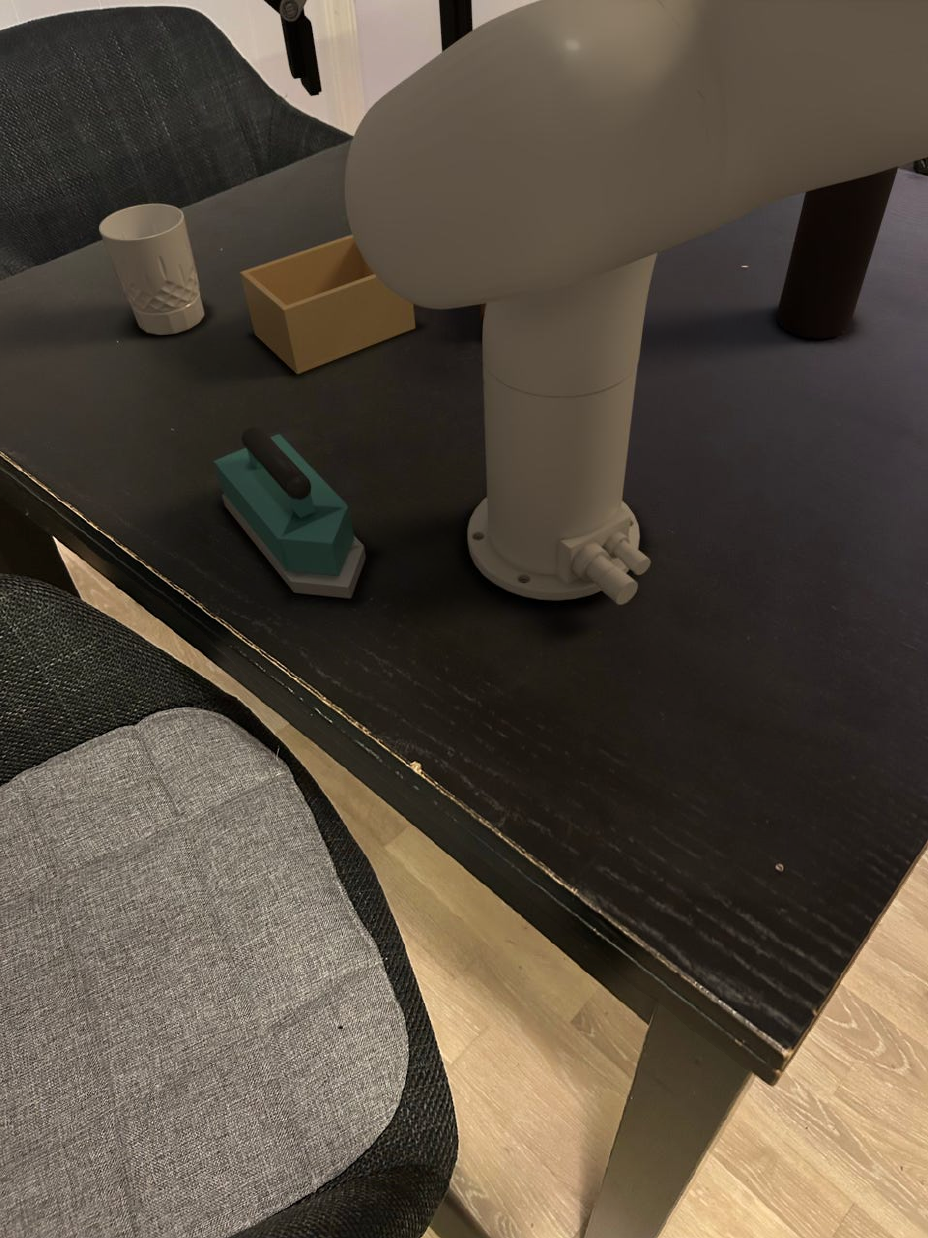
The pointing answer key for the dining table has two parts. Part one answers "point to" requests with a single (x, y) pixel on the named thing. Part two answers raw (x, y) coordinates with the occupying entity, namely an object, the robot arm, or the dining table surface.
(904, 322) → the dining table surface
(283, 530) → the iron
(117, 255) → the white cup
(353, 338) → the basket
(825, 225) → the bottle
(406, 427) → the dining table surface
